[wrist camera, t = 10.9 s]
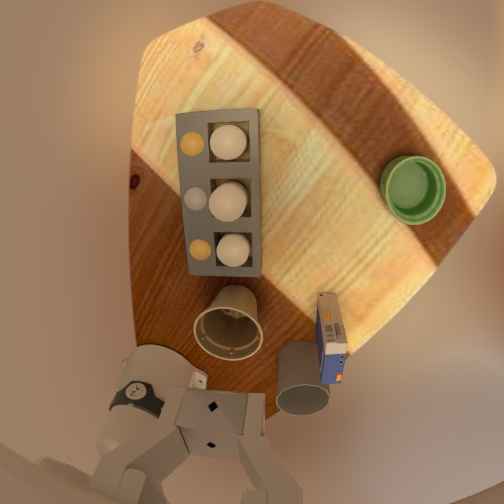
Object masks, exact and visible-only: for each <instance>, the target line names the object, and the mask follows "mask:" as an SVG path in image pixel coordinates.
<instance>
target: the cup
mask: <svg viewBox="0 0 504 504" xmlns="http://www.w3.org/2000/svg"><path fill="white" fill-rule="evenodd" d="M329 401H330V389H329V384H321V378H320V368H319V358H318V349H317V344H316V343H314V342H310V341H304V340H303V341H297V342H292V343H290V344H288V345H287V346H285V347H283V349H282V350H281V351H280V353H279V357H278V380H277V400H276V405H277V406H278V407H279V409H280V410H281V411H283V412H285V413H287V414H290V415H296V416H305V415H312V414H315V413H317V412H320V411H322V410H323V409H324V408H325V407H326V406H327V405H328V404H329Z"/></svg>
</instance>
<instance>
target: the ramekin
mask: <svg viewBox="0 0 504 504" xmlns="http://www.w3.org/2000/svg"><path fill="white" fill-rule="evenodd" d="M380 191H381V195H382V197H383V199H384V201H385V203H386V204H387V205H388V208H389V209H390V211H391V213H392V214H393V215H394V216H395V217H396V218H397V219H398V220H400V221H401V222H403V223H406V224H410V225H418V224H423V223H425V222H427V221H429V220H431V219H432V218H433V217H434V216H435V215H436V214H437V213H438V212H439V210H440V209H441V207H442V205H443V202H444V199H445V195H446V184H445V179H444V176H443V174H442V172H441V170H440V168H439V167H438V166H437V165H436V164H435V163H434V162H433V161H432V160H430V159H428V158H426V157H422V156H400V157H397V158H395V159H393V160H392V161H390V162H389V163H388V164H387V166H386V167H385V168H384V170H383V172H382V175H381V178H380Z"/></svg>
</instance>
